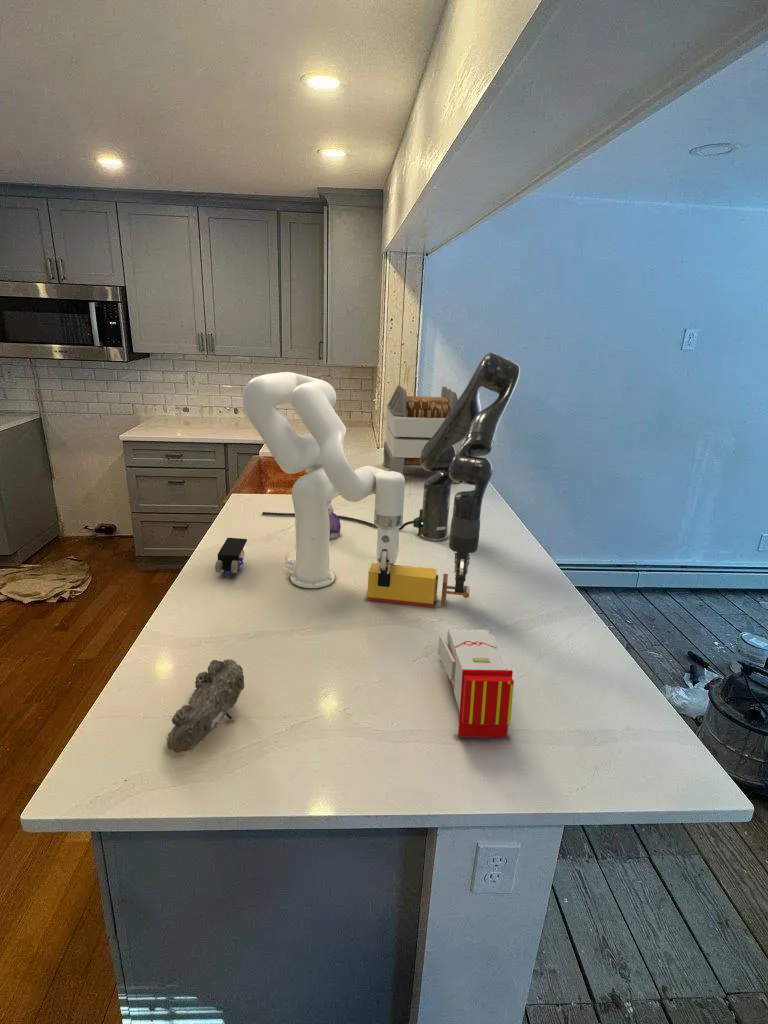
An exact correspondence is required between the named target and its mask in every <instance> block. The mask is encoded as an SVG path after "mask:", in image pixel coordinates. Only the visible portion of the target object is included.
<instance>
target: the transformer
mask: <svg viewBox="0 0 768 1024" xmlns="http://www.w3.org/2000/svg"><path fill="white" fill-rule="evenodd" d="M440 393H441V394H440V396H415V395H414V396H413V395H412V396H411V395H407V394H408V393H407V390H406V389H404V388H403V387H402V385H399V384H398V385H397V386H396V388H395V390H394V392H393V394H392V395H391V398H390V400H389V402H388V404H387V405H386V413H385V414H386V415H385V423H386V428H385V438H384V442H383V466H384V467H388V468H389V471H395V472H399V473H401V474H402V475H403V476H404V469H405V466H406V467H407V466H411V467H412V466H413V467H415V466H416V467H417V466H418V467H422V466H421V462H420V456H421V452H422V450H423V448H424V446H425V445H426V443H427V442H428V441H429V440H430V439H431V438H432V437H433V435H434V434H435V433H436V432H437V430H438V429H439V428H440V426H441V425H442V423H443V422H444V420H445V419H446V417H447V415H448V414H449V412H450V410H451V409H452V407H453V406H454V405H455V403H456V402H457V400H458V399H459V397H458V395H457V392H455V391H453V390H452V389H451V388H447V386H442V387H441V392H440ZM463 443H464V440H462V441H460V442H459V443H457V444H455V445H453V446H454V448H455V451H456V454H457V452H458V451H459V450H460V448H461V447H462V445H463ZM455 483H456V484H458V483H457V482H454V481H453V483H452V484H455Z"/></svg>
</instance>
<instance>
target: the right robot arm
mask: <svg viewBox="0 0 768 1024" xmlns="http://www.w3.org/2000/svg"><path fill="white" fill-rule="evenodd" d="M520 375H521V367H520V365H519V364H518V363H516V362H515V361H512V360H510V359H508V358H506V357H503V356H502V355H499V354H497V353H494V352H488V353H486V354H485V355H484V356H483V357H482V359H480V362H479V363H478V365H477V367H476V368H475V370H474V372H473V374H472V375H471V378H470V379H469V381H468V383H467V384H466V387H464V388H465V389H464V390H463V391H462V393H461V395H460V396H459V397H458V400H457V402H456V403H455V405H454V406H453V407H452V409H451V410H450V412H449V414H448V415H447V417H446V419H445V420H444V422H443V423H442V425H441V426H440V428H439V429H438V430H437V432H436V433H435V434H434V435H433V437H432V438H431V439H430V440H429V441H428V442H427V443H426V445H425V446H424V448H423V450H422V452H421V456H420V462H421V466H420V467H422V468H423V470H424V471H427V472H435V474H433V475H432V476H430V477H428V478H427V479H425V480H424V482H423V493H422V496H423V497H422V506H421V508H420V509H419V516H417V517H415V518H413V520H409V521H407V522H405V523H404V522H403V525H402V526H401V527H399V532H400V531H402V530H404V528H405V527H407V526H408V525H412V527H413V528H416V529H418V530H417V535H418V536H420V538H421V539H424V540H426V541H432V542H440V541H444V540H446V539H447V538H448V525H449V517H450V516H449V514H450V504H451V494H452V493H451V491H452V486H453V484H454V483H453V481H454V482H457V483H456V484H464V485H469V486H474V489H473V490H464V491H463V490H462V491H459V492H457V493H456V494H455V495H454V498H453V507H452V517H451V520H450V528H449V529H450V530H449V540H448V548H449V549H450V550H451V552H454V559H453V561H454V571H453V573H454V576H455V577H454V581H455V582H454V583H455V584H454V587H455V589H454V592H462V593H463V587H464V586H465V582H466V581H467V580H466V577H467V574H468V571H469V565H470V563H471V554H474V553H476V552H477V551H478V549H479V540H480V531H481V513H482V503H483V499H484V496H485V493H486V490H487V487H488V486H489V483H490V480H491V478H492V475H493V472H494V470H493V469H494V468H493V464H492V462H491V461H490V459H488V458H485V456H488V455H489V454H490V453H491V451H492V448H493V445H494V442H495V439H496V436H497V435H496V434H497V432H498V428H499V425H500V422H501V420H502V418H503V416H504V414H505V411H506V410H507V407H508V405H509V402H510V401H511V398H512V395H513V393H514V391H515V389H516V386H517V384H518V381H519V379H520ZM482 387H483V388H484V389H487V390H489V391H491V392H493V393H496V394H498V396H497V398H496V399H495V400H494V401H493V402H491V403H490V404H489V405H487V406H486V407H485V408H483V409H482V404H481V400H480V399H481V398H480V388H482ZM460 441H463V443H462V447H461V448H460V450H459V451H458V452H457V454H456V451H455V448H454V446H453V445H455V444H457V443H459V442H460ZM261 515H262V516H263V515H264V516H282V517H284V516H285V517H295V512H271V511H270V512H269V511H262V513H261ZM336 515H337V516H338V518H339V519H340V520H341V519H342V520H347V521H353V522H357V523H360V524H364V525H367V526H370V527H373V528H377V529H378V527H377V526H375V524H374V523H373V522H370V521H365V520H364V519H363V520H362V519H358V518H355V517H349V516H344V515H338V514H336Z"/></svg>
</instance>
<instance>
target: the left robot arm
mask: <svg viewBox="0 0 768 1024" xmlns="http://www.w3.org/2000/svg"><path fill="white" fill-rule="evenodd" d="M336 403H337V392H336V390H335V388H334V387H333V385H332V384H330V383H329V382H327V381H325V380H324V379H320V378H315V377H312V376H307V375H305V374H304V375H303V374H300V373H296V372H292V371H282V372H280V371H279V372H273V373H272V372H271V373H266V374H261V375H257V376H255V377H253V378H252V379H250V380H249V381H248V383H247V384H246V385H245V387H244V389H243V393H242V406H243V410H244V413H245V415H246V417H247V419H248V420H249V422H250V423H251V424H252V426H253V428H254V429H255V430H256V432H257V433H258V434H259V436H260V437H261V439H262V440H263V442H264V444H265V446H266V447H267V449H268V450H269V452H270V454H271V455H272V457H273V459H274V460H275V462H276V465H278V467H279V468H280V469H281V470H282V472H284V473H285V474H289V475H294V474H298V473H300V472H303V471H305V472H306V473H305V474H303V475H302V476H300V477H299V478H298V479H296V481H295V482H294V483H293V486H292V488H291V499H292V504H293V509H294V513H295V516H294V526H295V527H294V528H295V529H294V530H295V560H293V559H288V558H287V559H285V561H284V569H286V570H291V571H292V572H291V574H290V581H291V583H292V584H294V585H295V586H297V587H299V588H303V589H320V588H324V587H327V586H329V585H331V584H332V583H333V582H334V581H335V573H334V571H332V570H331V569H330V522H329V515H328V512H327V509H326V503H327V502H329V501H330V500H332V501H333V499H336V497H338V496H340V497H341V498H343V499H344V500H345V501H347V502H350V503H358V502H361V501H362V500H364V499H365V498H368V497H369V496H372V495H374V515H373V524H375V526H377V527H378V528H377V527H376V528H377V537H376V538H377V539H376V563H380V564H379V572H378V586H383V587H389V586H390V573H389V572H390V564H393V565H396V562H397V560H398V556H399V549H400V546H399V545H400V531H399V528H400V527H401V526H402V525H403V524H404V506H405V505H404V504H405V488H406V478H405V476H404V474H403V475H402V474H401V473H399V472H395V471H390V470H384V469H381V468H379V467H376V466H372V465H363V466H360V467H359V468H357V469H354V468H353V466H352V465H351V464H350V462H349V460H348V459H347V456H346V453H345V449H344V443H345V439H346V434H347V427H346V425H345V424H344V423H343V421H342V419H341V418H340V417H339V415H338V414H337V412H336V411H335V409H334V408H335V406H336ZM285 404H291V406H292V409H293V410H294V412H295V413H296V414H297V416H298V417H299V418H300V421H302V423H303V425H304V426H305V428H306V429H307V430H308V432H309V433H301V434H297V433H296V431H295V430H294V429H293V427H292V425H291V422H289V420H288V419H287V418H286V417H285V415H283V414H282V413H281V412H279V411H278V410H277V408H276V407H277V406H281V405H285ZM386 564H388V568H387V567H386Z"/></svg>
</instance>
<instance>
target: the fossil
mask: <svg viewBox="0 0 768 1024" xmlns="http://www.w3.org/2000/svg"><path fill="white" fill-rule="evenodd" d="M243 670H244V669H243V667H242V665H240V664H237V662H236V661H235V660H234V659H232V658H231V659H227V658H226V659H224V660H223V661H222V660H217V659H212V660H211V661H210V663H209V665H208V666H207V671H201V672H199V673H198V674H197V675H196V676H195V680H194V684H195V685H194V687H195V689H194V690H193V693H192V694H191V697H190V698H189V700H188V704H184V705H182V706H181V707H180V709H177V710H176V711H175V713H174V715H173V716H172V718H171V723H172V724H173V727H172V730H171V731H170V732H168V734H167V738H166V741H167V742H166V745H167V749H168V750H169V751H173V752H174V753H176V754H178V753H182V752H188V751H189V752H192V751H193V750H195V748H196V747H197V746H199V744H200V743H201V742H203V741H204V740H205V739H206V738H207V737H208V736H209V735H210V734H211V733H212V732H214V730H215V729H217V727H218V726H219V724H220V722H221V721H222V720H223V719H224V718H225V716H226V717H227V719H229V720H233V717H232V715H230V714H229V710H230V709H231V708H234V706H235V704H236V703H237V702H238V699H239V697H240V695H241V693H242V691H243V690H245V689H244V688H245V675H244V671H243Z"/></svg>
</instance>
